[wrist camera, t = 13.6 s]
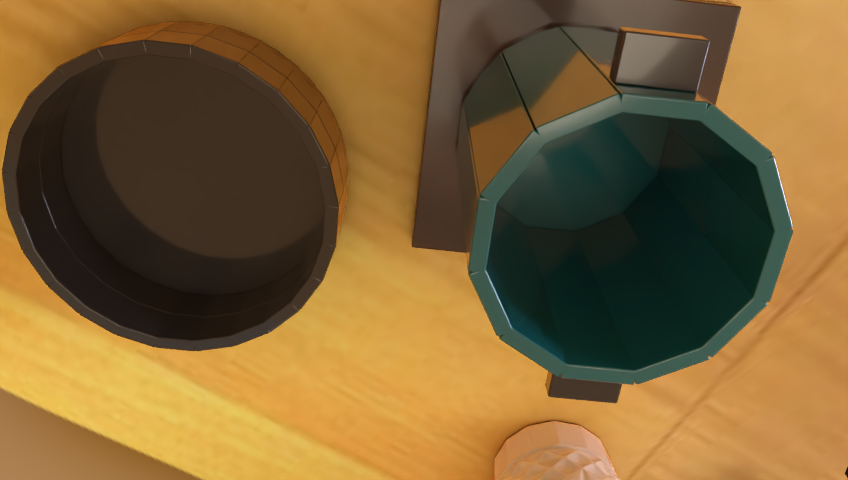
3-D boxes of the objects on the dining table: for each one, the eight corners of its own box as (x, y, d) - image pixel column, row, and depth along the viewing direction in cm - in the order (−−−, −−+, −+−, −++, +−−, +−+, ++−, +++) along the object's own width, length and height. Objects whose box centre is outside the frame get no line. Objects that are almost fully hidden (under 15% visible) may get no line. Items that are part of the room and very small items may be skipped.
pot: (478, -25, 34) (504, 22, 22) (708, 2, 34) (850, 61, 23) (441, 253, 39) (447, 406, 28) (640, 274, 39) (727, 432, 28)
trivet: (442, -31, 34) (443, -28, 33) (733, 3, 35) (742, 6, 34) (411, 239, 40) (411, 247, 39) (664, 265, 40) (670, 274, 39)
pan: (41, 3, 35) (-17, 21, 31) (359, 39, 36) (349, 62, 31) (65, 284, 41) (20, 335, 36) (338, 311, 41) (327, 364, 37)
